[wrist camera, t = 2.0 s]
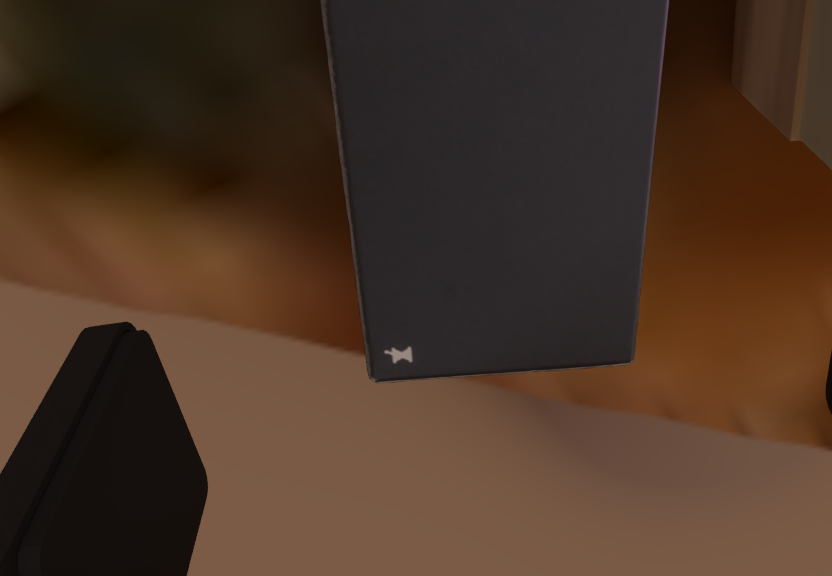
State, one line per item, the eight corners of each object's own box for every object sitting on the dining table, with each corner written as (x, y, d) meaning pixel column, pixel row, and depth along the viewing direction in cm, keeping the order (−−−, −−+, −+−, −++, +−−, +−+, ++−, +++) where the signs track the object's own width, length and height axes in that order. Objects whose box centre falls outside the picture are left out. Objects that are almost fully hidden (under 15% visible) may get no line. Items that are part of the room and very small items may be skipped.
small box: (569, 178, 27) (647, 379, 18) (375, 191, 27) (358, 395, 18) (583, -189, 21) (710, -160, 12) (336, -170, 21) (283, -127, 12)
